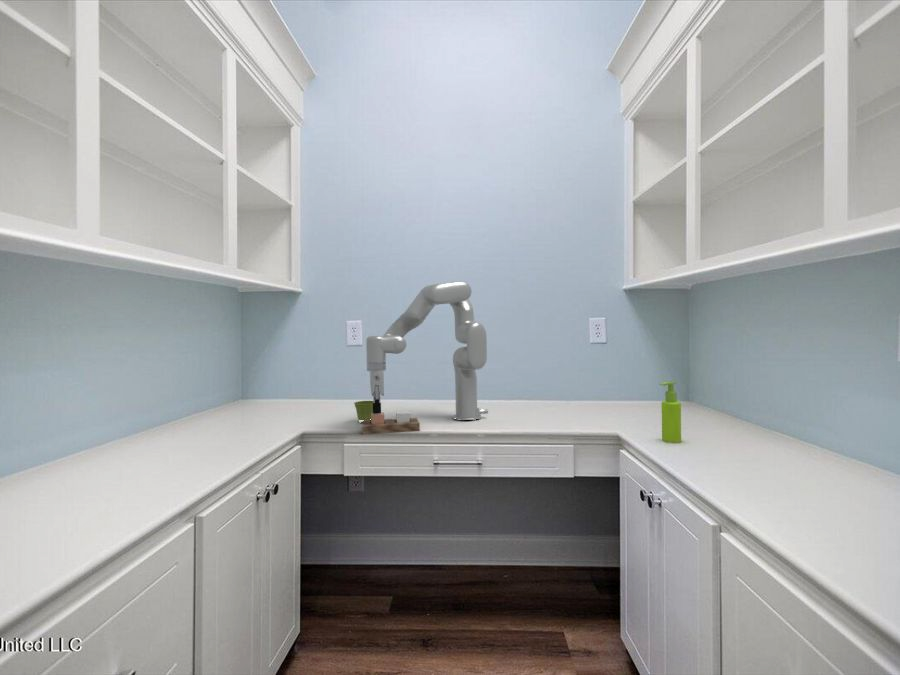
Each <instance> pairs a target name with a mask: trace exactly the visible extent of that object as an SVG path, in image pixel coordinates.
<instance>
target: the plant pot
mask: <svg viewBox="0 0 900 675" xmlns="http://www.w3.org/2000/svg"><path fill="white" fill-rule="evenodd" d="M353 404H354V407H355V410H356V416H357V420H358V419H359V420H370V419H371V413H373V400H359V401H355V402H353Z"/></svg>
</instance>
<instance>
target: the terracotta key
mask: <svg viewBox="0 0 900 675" xmlns="http://www.w3.org/2000/svg"><path fill="white" fill-rule="evenodd" d="M384 419H385V412H381V413H375V414H374V413H371V424H384Z"/></svg>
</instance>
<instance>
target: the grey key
mask: <svg viewBox="0 0 900 675" xmlns="http://www.w3.org/2000/svg"><path fill="white" fill-rule="evenodd" d="M395 412H396V413H395V415H396V418H395V419H396V422H397V423H406V422H410V418H411V416H410V414H411V413H410V411H408V410H403V411H402V410H401V411H395Z"/></svg>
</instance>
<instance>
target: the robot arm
mask: <svg viewBox="0 0 900 675" xmlns="http://www.w3.org/2000/svg"><path fill="white" fill-rule="evenodd" d="M471 295H472V287H471V286H470V284H469V283H468V282H466V281H463V280H459V281H453V282H444V283H434V284H430V285H425V286H424V287H423V288H422V289H421V290H420V291H419V293H418V294H417V295H416V296H415V298H414V299H413V301H412V302H411V303H410V304H409V306H408V307H407V309H406V310H405V311H404V312H403V313H402V314H401V315H400V316H398V318H397V319H396V320H395V321H394V322H392V324H391V325H390V326H389V328H388V329H387V330H386V331H385V332H384V333H383V335H369V336H367V338H366V340H365V342H366V346H365V347H366V371H367V372H369V385H370V386H369V387H370V394H371V397H373V398H372V399H373V400H372V401H373V413H374V414H375V413H382V402H381V396H382V397H384V396H385V380H384V376H385V375H384V372H386V370H387V366H386V365H387V358H386V357H387V356H386V354H393V355H398V354H401V353H403V352H404V351H405V350H406V348H407V341H406V339H405V338H404V337H405V336H406V335H407V334H408V333H410V331H413V330H414V329H416V328H417V327H420V325H422V324H423V323H424V322H425V320H426V319H427V317H428V316H429V315H430V313H431V312H432V310H433V309H434V308H435V306H437V305H447V304H449V306H451V307H452V310H453V314H454V337H455V340H456V341H457V342H458V343H460V344H464V345H466V346H461V347H459V348H457V349H456V350H455V351H454V352H453V355H452V362H453V363H452V364H453V369H454V384H455V386H454V388H455V389H454V390H455V414H453V415H452V417H453V418H456V419H460V420H473V421H477V420H476V419H479V420H481V419H480V418H482V414H483V415H486V414H489V409H488V408H487V409H486V408H479V407H478V379H477V372H476V371H478V370H481V369H483V368H484V367H485V365H486V363H487V359H488V358H487V357H488V348H487V346H488V345H487V343H488V342H487V331H486V329H485V326H484V325H483V324H482V323H481V322H477V321H475V316H474V315H475V314H474V308H473V304H472V303H471V300H469V299H470V297H471ZM453 418H452V419H453Z"/></svg>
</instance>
